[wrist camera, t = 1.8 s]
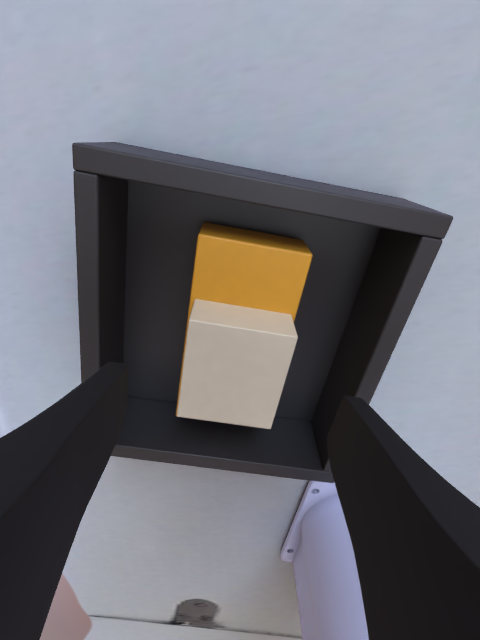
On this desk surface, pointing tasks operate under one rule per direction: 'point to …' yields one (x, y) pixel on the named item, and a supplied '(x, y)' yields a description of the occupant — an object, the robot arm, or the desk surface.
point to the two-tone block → (240, 325)
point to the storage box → (175, 288)
